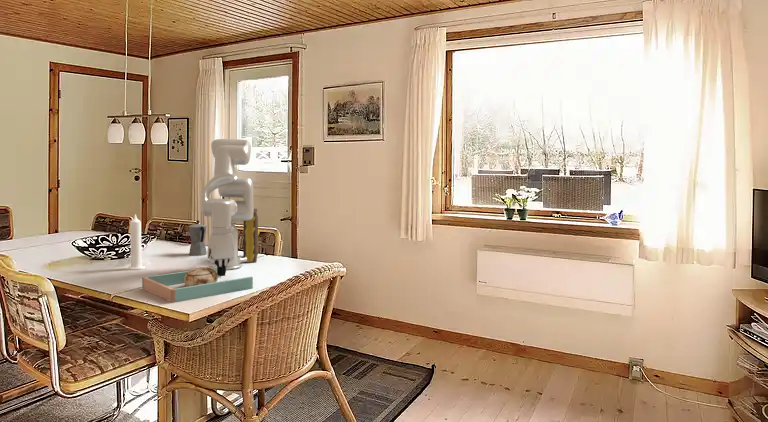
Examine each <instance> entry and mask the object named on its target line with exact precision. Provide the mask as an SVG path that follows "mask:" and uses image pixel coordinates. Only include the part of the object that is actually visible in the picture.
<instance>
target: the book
mask: <svg viewBox="0 0 768 422" xmlns="http://www.w3.org/2000/svg"><path fill="white" fill-rule="evenodd" d="M242 235H243V238H242V239H243V248H242V249H243V250H242V251H243V255H242V256H243V257H242V258H245V257H246V258H247V261H245V262H243V263H244V264H255V263H257V261H258V255H259V236H260V230H259V214H258V208H254V213H253V218H252V219H251V220H249V221H243V229H242Z"/></svg>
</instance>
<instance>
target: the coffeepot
mask: <svg viewBox="0 0 768 422" xmlns="http://www.w3.org/2000/svg"><path fill="white" fill-rule="evenodd" d="M188 230H189V236H190V240H191V241H190V246H189V252H188V253H189V254H188V255H189V256H191V255H192V256H193V257H194V256H195V257H199V256H200V257H201V256H207V251H208V250H207V246H206V242H205V239H206V234H207V225H205V224H201V223H200V220H196V224H195V223H194V224H192V225H189V226H188Z"/></svg>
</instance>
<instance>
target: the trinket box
mask: <svg viewBox="0 0 768 422" xmlns="http://www.w3.org/2000/svg"><path fill="white" fill-rule="evenodd" d="M213 268H214V267H211V266H207V265H206V266H203V265H201V266H197V267H194V268H191V269H190V270H187V271H188V272H187V273H186V275H185V277H184V283H183V284H184V285H185V287H189V286H196V285H202V284H208V283H214V282H218V279H219V278H218V274H217V272H216V271H215V270H214V269H213Z"/></svg>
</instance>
